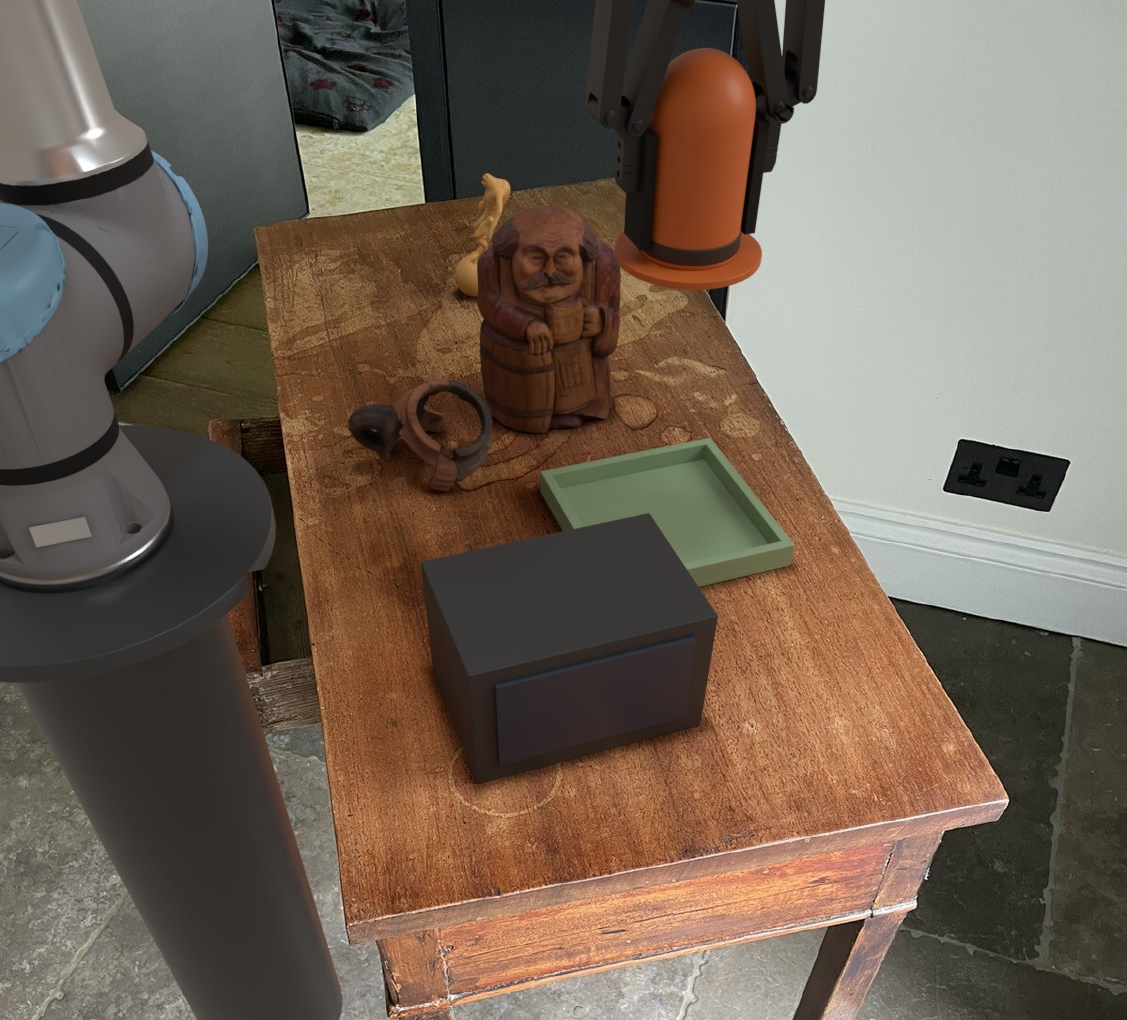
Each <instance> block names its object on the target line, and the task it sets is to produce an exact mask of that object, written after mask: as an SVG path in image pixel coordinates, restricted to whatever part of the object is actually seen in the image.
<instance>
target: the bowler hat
mask: <svg viewBox="0 0 1127 1020" xmlns="http://www.w3.org/2000/svg"><path fill="white" fill-rule="evenodd" d="M755 113H756V99H755V93H754V89H753V85H752V82H751V80H750V78H749V74H748V71H746V70H745V67H744V66H743V65H742V64H741V63H740V62H739V61H738V60H737V59H736V58H735V57H733V56H732V55H730V54H728V53H727V52H726V51H723V50H719V49H716V48H712V47H711V48H710V47H701V48H695V49H690V50H688V51H685V52H683V53H680V54H679V55H678V56H676V57H675V58H674V59H672V60H670V62H669V65H668V68H667V71H666V74H665V77H664V80H663V82H662V85H661V88H660V91H659V94H658V97H657V100H656V103H655V106H654V109H653V112H652V114H651V117H650V120H649V123H648V126H647V127H648V128H650V129H651V130H652V131H653V132H654V133H655V134H656V135H657V136H658V137H659V140H658V154H657V168H656V183H655V197H654V211H653V225H652V240H651V249H648V250H642V251H640V250H639V249H638V248H637V247H636V246H635V245H634V244H633V243H632V241H631V240H630V239H629V238H628V237H627V236H626V235H625V234H624V231H623V232H622V233H620V235H619V236H618V237H617V239H616V241H615V244H614V250H615V258H616V261H617V263H618V264H619V266H620V269H622V270H623V271H624V272H626V273H627V274H628V275H630V276H632V277H633V278H636V279H638V280H640V281H642V282H644V283H648V284H649V285H654V286H658V287H662V288H668V289H673V290H684V291H685V290H686V291H704V290H705V291H706V290H715V289H722V288H727V287H730V286H734V285H736V284H739V283H741V282H745V281H746V280H748V279H749V278H751V277H752V276H753V275H754V274H755V273H757V271H758V270H759V268H760V266H761V264H762V258H763V250H762V247H761V244H760V243H759V242H758V240H757V239H756V238H755V237H754V236H753V235H752V234H746V235H744V234H743V233H742V230H741V221H742V214H743V206H744V198H745V191H746V183H747V176H748V168H749V160H750V153H751V145H752V138H753V130H754V122H755Z"/></svg>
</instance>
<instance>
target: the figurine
mask: <svg viewBox="0 0 1127 1020" xmlns="http://www.w3.org/2000/svg"><path fill="white" fill-rule="evenodd" d="M481 185H482V186H483V187H485V191H484V196H483V198H482V199H481V201H480V202H479V203H478V207H477V209H478V210H480V209H482V208H483V207H484V205H485V210H484V212H483V214H482V215H481V216H480V217H479V218H478V220H477V221H476V222H475V223H473V226H472V228H473V229H472V230H473V232H474V234H473V235H474V239H475V241H476V242H477V243H478V244H479V246H478V248H477V249H476V250H474V251H471V252H470V253H469V255H466V256H464V257H463V258H461V259H460V261H458V263H457V265H456V267H455V271H454V279H455V280H454V281H455V283H456V286H457V287H458V289H459V290H460V292H462V293H463V294H465V295H466V296H469V297H478V278H477V262H478V258H479V257H480V255H481V254H482V253H483V252H484V251H486V250H487V249H488V248H489V245H490V242H491V240H492V238H493V234H494V231H495V228H496V227H497V226H498V223H499V220H500V218H501V216H502V213H503V207H504V206H505V205H506V203H507V201H508V199H509V197H510V194H511V185H510V182H508V181H507V180H506V179H503V178H497V177H495V176H493V175H491V174H490V173H489V172H486V173H484V174H483V176H482V180H481Z"/></svg>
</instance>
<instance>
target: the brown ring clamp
mask: <svg viewBox="0 0 1127 1020" xmlns="http://www.w3.org/2000/svg"><path fill="white" fill-rule="evenodd" d="M441 392H443V393H450V394H454V395H456V396H458V399H459V400H461V401H464V402H466V403H468V404H470V405H471V406H472V407H473V409H475V411H476V413H477V415H478V417H479V419H480V425H481V427H480V429H481V430H480V433H479V435H478V437H477V438H476V440H474V441H473V442H472V443H470V444H467V445H464V446H459V447H453V448H452V456H447V455H446V456H445V455H443V454H442V453H441V447H442V446H441V444H440V443H439V442H438V441H436V440H435V439H433V438H432V437H431V436H430V435H428V434H427V432H433V433H437V434H438V433H439V432H440V428H441V425H442V422H443V420H444V418H445V414H444V413H442V412H441V411H434V410H432V409H429V408H427V407H426V408H425V406H426V404H427V402H428V401H429V399H430V397H432V396H435V395H438V394H440V393H441ZM492 418H493V417H492V416H491V413H490V411H489V408H488V406H487V404H486V401H485V400H484V398H482V396H481V394H479V393H478V392H477V391H476V390H474V388H473V387H471V386H468V385H467V384H465V383H462V382H460V381H457V380H453V379H449V380H448V379H444V378H443V379H442V378H439V379H431V380H428V381H426V382H423V383H421V384H420V385H418V386H416V387H413V388H411V389H408V390H407V391H405V392H403V393H402V394H401V395H400V396H399V397H398V398H397V399H396V400H395V401H394V402H393V403H392V404H387V405H386V404H385V405H384V404H380V403H379V404H378V403H371V404H366V405H362V406H359V407H358V408H355V409H354V410H353V411H352V413H351V414H350V416H349V418H348V420H347V430H348V431H349V432H350V434H351V436H352V438H353V439H354V440H355V441H356V442H357V443H358V444H360V445H361V446H363V447H364V448H366V449H368V450H369V451H372V452H375V453H376V454H377V456H379V458H380V459H381V460H382V461H383V462H384V463H389V462H390V459H391V458H390V453H391V452H392V450H393V449H394V446H395V444H396V443H397V441H398V440H399V439H400V438H402V439H403V441H404V442H405V443H406V444H407V446H408V447H409V449H411V450H412V451H413V452H414V453H416V454H417V456H418V457H419V458H420V459H421V460H423V461H424V462H425V463H427V464H428V465H430V466H431V467H433V468H434V471H433V472H434V473H433V477H432V478H431V480H430V481H429V485H430V488H431V489H432V490H434V491H435V490H436V491H440V492H448V491H449V490H450V489H451V488H453V487H454V485H455V482H462V481H463V480H465V479H466V478H468V477H469V476H471V475H472V474H473V473H474V472H476V471H477V470H478V469H479V468H481V466H482V465H483V464H484V462H485V461H486V460H487V459H488V457H489V450H491V449H492V446H493V419H492Z"/></svg>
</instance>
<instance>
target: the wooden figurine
mask: <svg viewBox="0 0 1127 1020" xmlns="http://www.w3.org/2000/svg"><path fill="white" fill-rule="evenodd" d="M477 278H478V296H476V303H477V308H478V311H479V313H480V316H481V317H482V318H483V320H482V321H481V322H480V329H479V359H480V371H481V372H480V373H481V379H482V386H483V394H484V399H485V403H486V405H487V406H488V408H489V411H490V413H491V418H493V419H495V420H497V422H499V423H500V424H501V425H503V426H505V427H509V428H511V429H513V430H515V431H519V432H523V433H531V434H543V433H546V432H547V431H548V430H550V429H559V430H562V429H563V430H564V429H566V428H574V427H575V428H576V427H580V426H581V425H582V424H583V422H584V420H586V419H601V420H605V419H606V420H607V418H608V416H609V413H610V404H611V366H610V365H611V364H610V358H609V357H610V355H612V354H614V352H615V351H616V349H617V346H618V343H619V337H620V325H621V317H620V309H621V308H620V307H621V284H622V283H621V282H622V281H621V280H622V275H621V267H620V266H619V264H618V263H617V261H616V258H615V248H614V247H613V246H612V245H611V244H610V243H608V242H606V241H604V240H602V239H601V238H599V237H597V236H596V234H595V233H594V231H593V230H592V229H591V227H590V226H589V225H588V223H587V222H586V221H585V220H584V218H582V217H581V215H578V214H577V213H575V212H574V211H572V210H571V209H568V208H566V207H564V206H557V205H556V206H555V205H546V204H541V205H536V206H532V207H529V208H525V209H522V210H520V211H518V213H515V214H514V215H512V216H511V217H510V218H508V219H507V220H506V221H505V222H504V223H503V224H502V225H501V226H500V227H499V228H498V229H497V230H496V232H495V233H493V235H492V245H491V246H488V249H487V250H486V251H484V252H483V253H482V254H481V255H480V257H479V258H478V262H477Z"/></svg>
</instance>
